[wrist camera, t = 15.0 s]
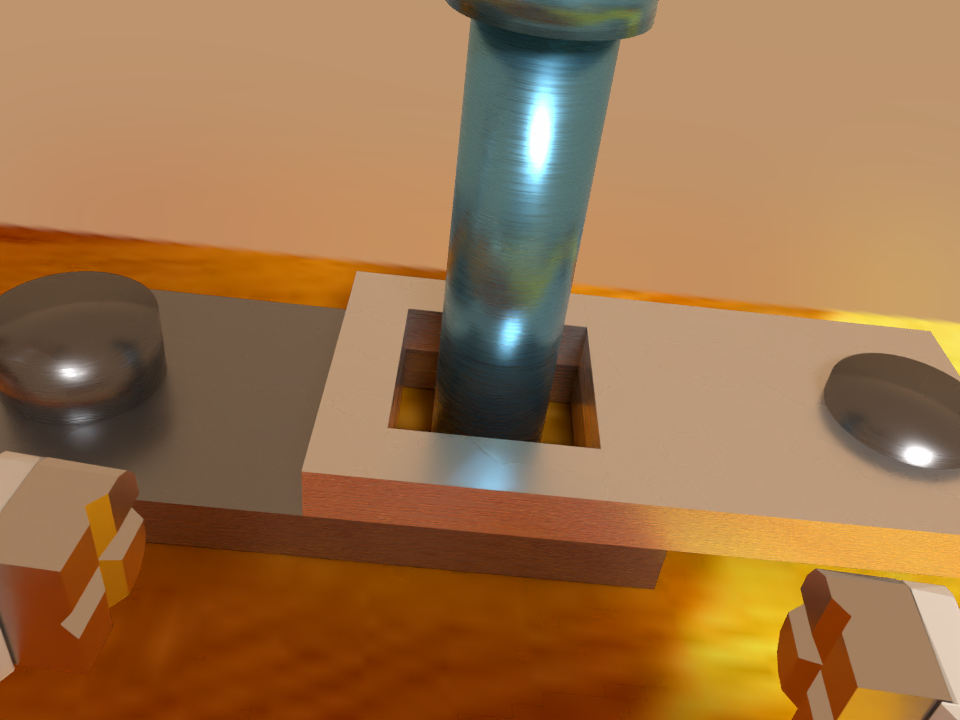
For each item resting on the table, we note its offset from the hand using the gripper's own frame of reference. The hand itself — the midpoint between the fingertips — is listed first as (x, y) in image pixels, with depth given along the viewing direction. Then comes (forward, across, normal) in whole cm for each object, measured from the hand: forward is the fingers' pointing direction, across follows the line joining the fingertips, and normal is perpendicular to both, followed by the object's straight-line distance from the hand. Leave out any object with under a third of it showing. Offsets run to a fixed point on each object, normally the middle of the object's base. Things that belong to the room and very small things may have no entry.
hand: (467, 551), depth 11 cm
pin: (+12, 0, +10) cm, 15 cm away
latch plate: (+12, 0, +10) cm, 15 cm away
